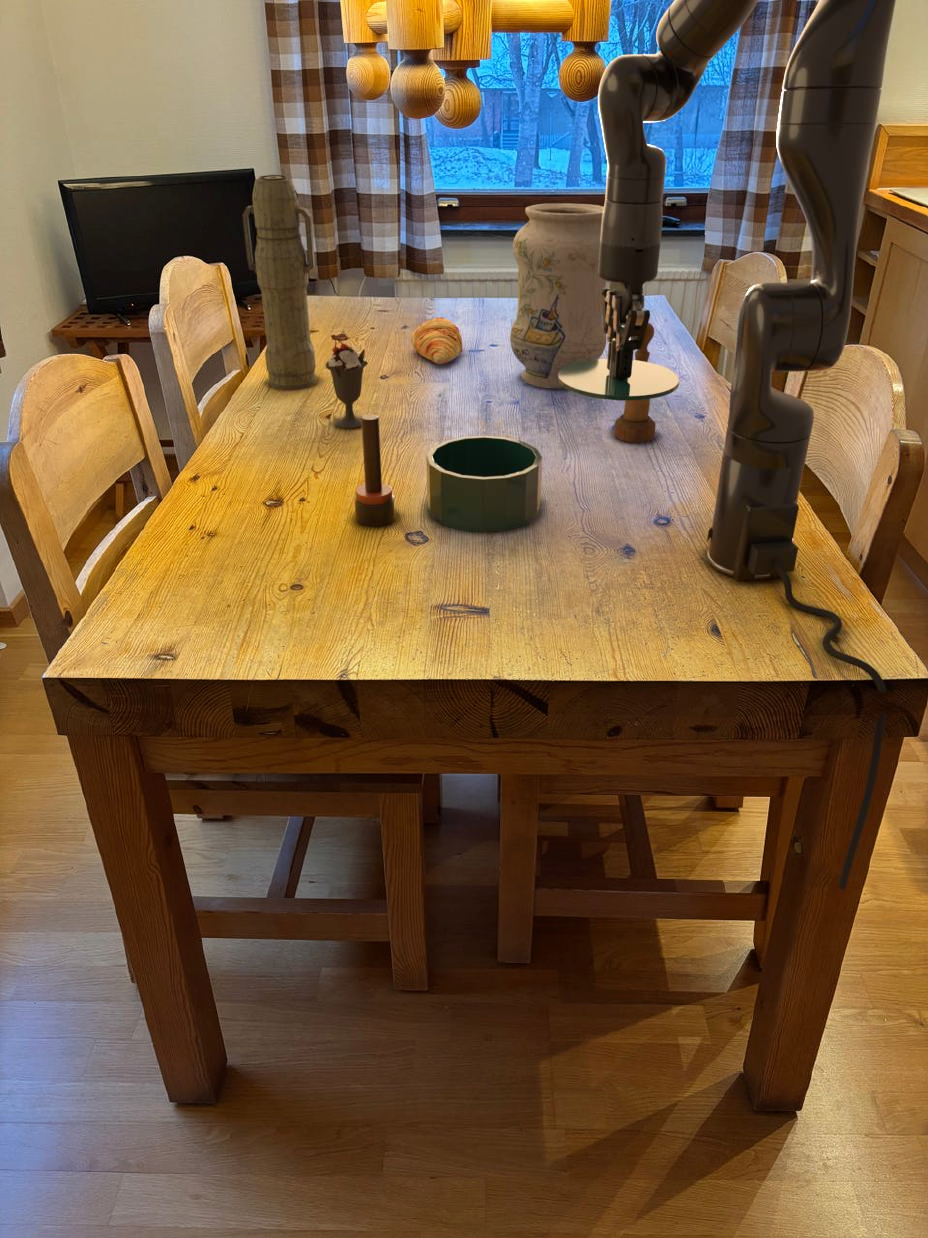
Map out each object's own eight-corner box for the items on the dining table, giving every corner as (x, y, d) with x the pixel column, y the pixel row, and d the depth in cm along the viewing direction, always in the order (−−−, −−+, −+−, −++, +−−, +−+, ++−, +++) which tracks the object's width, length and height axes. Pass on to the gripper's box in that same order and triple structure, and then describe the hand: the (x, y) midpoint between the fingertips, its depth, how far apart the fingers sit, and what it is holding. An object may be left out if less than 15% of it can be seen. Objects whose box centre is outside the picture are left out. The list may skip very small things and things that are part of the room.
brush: (396, 525, 128) (392, 422, 120) (357, 528, 127) (350, 425, 120) (392, 508, 132) (388, 408, 125) (354, 511, 131) (348, 410, 124)
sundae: (321, 426, 159) (314, 335, 151) (344, 414, 164) (338, 325, 156) (355, 433, 157) (349, 340, 149) (377, 420, 162) (373, 330, 154)
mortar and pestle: (653, 444, 153) (666, 329, 143) (612, 441, 154) (622, 327, 144) (655, 429, 158) (667, 318, 149) (615, 427, 159) (624, 316, 150)
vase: (545, 358, 192) (553, 195, 176) (623, 376, 182) (638, 205, 167) (489, 380, 180) (492, 207, 164) (569, 400, 170) (580, 219, 155)
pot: (550, 527, 127) (553, 474, 123) (436, 536, 125) (435, 482, 121) (525, 481, 140) (527, 432, 136) (421, 488, 138) (420, 439, 134)
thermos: (323, 389, 176) (306, 179, 157) (257, 389, 175) (233, 180, 157) (326, 374, 183) (311, 172, 165) (264, 374, 183) (242, 173, 165)
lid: (696, 401, 125) (702, 353, 122) (575, 408, 123) (578, 360, 120) (655, 364, 139) (660, 320, 135) (545, 369, 136) (547, 325, 133)
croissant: (456, 385, 188) (475, 348, 185) (410, 362, 185) (429, 325, 182) (445, 351, 206) (463, 318, 203) (403, 331, 203) (420, 296, 199)
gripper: (586, 229, 126) (578, 360, 135) (618, 250, 114) (606, 392, 124) (641, 227, 127) (629, 357, 136) (678, 248, 115) (662, 389, 125)
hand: (618, 373), depth 130 cm, fingers closed on lid, 2 cm apart
